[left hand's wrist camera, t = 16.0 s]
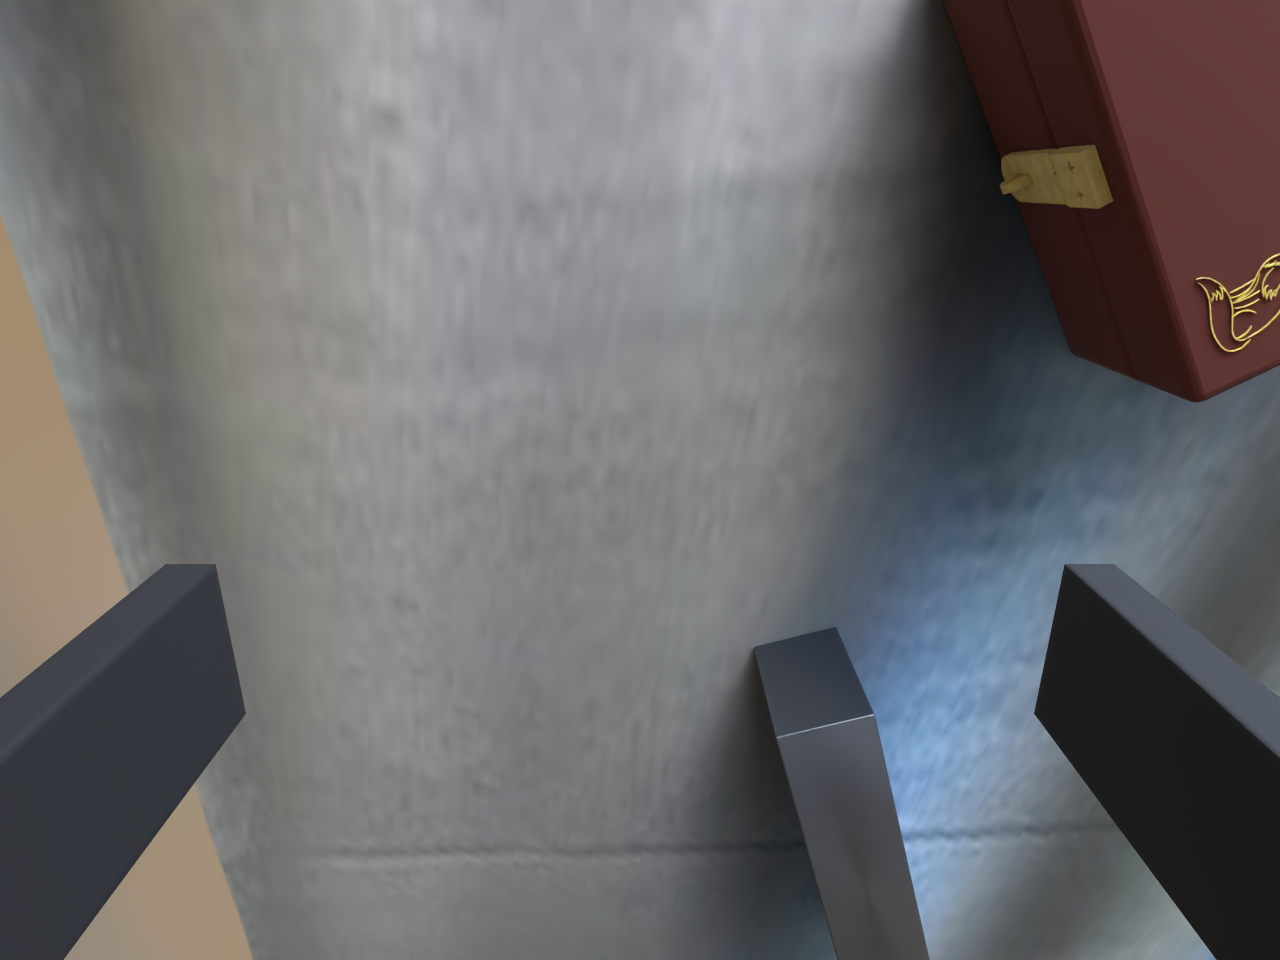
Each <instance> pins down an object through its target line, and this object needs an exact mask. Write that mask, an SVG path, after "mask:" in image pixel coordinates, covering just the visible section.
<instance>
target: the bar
mask: <svg viewBox="0 0 1280 960" xmlns="http://www.w3.org/2000/svg"><path fill="white" fill-rule="evenodd" d="M754 650H755V655H756V659H757V663H758V667H759V671H760V675H761V679H762V683H763V687H764V691H765V696H766V700H767V704H768V708H769V712H770V716H771V720H772V724H773V728H774V733H775V737H776V740H777V744H778V748H779V751H780V755H781V758H782V762H783V766H784V769H785V773H786V776H787V780H788V784H789V787H790V791H791V794H792V798H793V802H794V805H795V809H796V812H797V816H798V819H799V823H800V827H801V830H802V834H803V837H804V841H805V845H806V848H807V852H808V855H809V859H810V863H811V866H812V870H813V873H814V877H815V881H816V884H817V888H818V891H819V895H820V899H821V902H822V906H823V909H824V913H825V917H826V920H827V924H828V927H829V931H830V935H831V938H832V942H833V945H834V949H835V953H836V956H837V960H929V956H928V951H927V947H926V942H925V938H924V933H923V929H922V924H921V920H920V915H919V911H918V906H917V902H916V898H915V893H914V889H913V884H912V880H911V875H910V871H909V866H908V862H907V857H906V853H905V848H904V844H903V839H902V835H901V831H900V826H899V822H898V817H897V813H896V808H895V804H894V799H893V795H892V790H891V786H890V781H889V777H888V772H887V768H886V764H885V759H884V755H883V750H882V746H881V741H880V737H879V732H878V728H877V723H876V719H875V715H874V712H873V710H872V708H871V706H870V703H869V701H868V699H867V697H866V694H865V692H864V690H863V687H862V685H861V683H860V681H859V678H858V676H857V674H856V671H855V669H854V667H853V665H852V662H851V660H850V658H849V656H848V653H847V651H846V649H845V646H844V644H843V642H842V640H841V637H840V635H839V633H838V631H837V628H836V627H834V628H830V629H826V630H822V631H818V632H814V633H810V634H806V635H802V636H798V637H793V638H789V639H785V640H781V641H777V642H773V643H769V644H765V645H761V646H757V647H754Z"/></svg>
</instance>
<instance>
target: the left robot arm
mask: <svg viewBox="0 0 1280 960" xmlns="http://www.w3.org/2000/svg"><path fill="white" fill-rule="evenodd" d="M245 714H246V712H245V707H244V702H243V697H242V692H241V688H240V683H239V678H238V673H237V668H236V663H235V658H234V653H233V648H232V644H231V639H230V634H229V629H228V624H227V619H226V614H225V609H224V604H223V599H222V595H221V590H220V585H219V580H218V575H217V570H216V565H215V564H166V565H164V566H163V567H162V568H161V569H159V570H158V571H157V572H156V573H154V574H153V575H152V576H151V577H150V578H148V579H147V580H146V581H145V582H143V583H142V584H141V585H140V586H138V587H137V588H136V589H135V590H133V591H132V592H131V593H130V594H128V595H127V596H126V597H125V598H123V599H122V600H121V601H120V602H119V603H117V604H116V605H115V606H114V607H112V608H111V609H110V610H109V611H107V612H106V613H105V614H104V615H102V616H101V617H100V618H99V619H97V620H96V621H95V622H94V623H93V624H91V625H90V626H89V627H88V628H86V629H85V630H84V631H83V632H81V633H80V634H79V635H78V636H76V637H75V638H74V639H73V640H71V641H70V642H69V643H68V644H67V645H65V646H64V647H63V648H62V649H60V650H59V651H58V652H57V653H55V654H54V655H53V656H52V657H50V658H49V659H48V660H47V661H45V662H44V663H43V664H42V665H41V666H39V667H38V668H37V669H36V670H34V671H33V672H32V673H31V674H29V675H28V676H27V677H26V678H24V679H23V680H22V681H21V682H19V683H18V684H17V685H16V686H15V687H13V688H12V689H11V690H9V691H8V692H7V693H6V694H5V695H3V696H2V697H1V698H0V960H64V958H65V957H66V956H67V954H68V953H69V951H70V950H71V949H72V947H73V946H74V945H75V943H76V942H77V941H78V939H79V938H80V937H81V935H82V934H83V932H84V931H85V930H86V928H87V927H88V926H89V924H90V923H91V922H92V920H93V919H94V918H95V916H96V915H97V914H98V912H99V911H100V910H101V908H102V907H103V906H104V904H105V903H106V902H107V900H108V899H109V897H110V896H111V895H112V893H113V892H114V891H115V889H116V888H117V887H118V885H119V884H120V883H121V881H122V880H123V879H124V877H125V876H126V875H127V873H128V872H129V871H130V869H131V868H132V866H133V865H134V864H135V862H136V861H137V860H138V858H139V857H140V856H141V854H142V853H143V852H144V850H145V849H146V848H147V846H148V845H149V843H150V842H151V841H152V839H153V838H154V837H155V835H156V834H157V833H158V831H159V830H160V829H161V827H162V826H163V825H164V823H165V822H166V821H167V819H168V818H169V817H170V815H171V814H172V812H173V811H174V810H175V808H176V807H177V806H178V804H179V803H180V802H181V800H182V799H183V798H184V796H185V795H186V794H187V792H188V791H189V790H190V788H191V787H192V785H193V784H194V783H195V781H196V780H197V779H198V777H199V776H200V775H201V773H202V772H203V771H204V769H205V768H206V767H207V765H208V764H209V763H210V761H211V760H212V759H213V757H214V756H215V754H216V753H217V752H218V750H219V749H220V748H221V746H222V745H223V744H224V742H225V741H226V740H227V738H228V737H229V736H230V734H231V733H232V732H233V730H234V729H235V727H236V726H237V725H238V723H239V722H240V721H241V719H242V718H243V717H244V715H245ZM1034 714H1035V715H1036V717H1037V718H1038V719H1039V721H1040V722H1041V723H1042V725H1043V726H1044V727H1045V729H1046V730H1047V732H1048V733H1049V734H1050V736H1051V737H1052V738H1053V740H1054V741H1055V742H1056V744H1057V745H1058V746H1059V748H1060V749H1061V750H1062V752H1063V753H1064V754H1065V756H1066V757H1067V759H1068V760H1069V761H1070V763H1071V764H1072V765H1073V767H1074V768H1075V769H1076V771H1077V772H1078V773H1079V775H1080V776H1081V777H1082V779H1083V780H1084V781H1085V783H1086V784H1087V785H1088V787H1089V788H1090V790H1091V791H1092V792H1093V794H1094V795H1095V796H1096V798H1097V799H1098V800H1099V802H1100V803H1101V804H1102V806H1103V807H1104V808H1105V810H1106V811H1107V812H1108V814H1109V815H1110V817H1111V818H1112V819H1113V821H1114V822H1115V823H1116V825H1117V826H1118V827H1119V829H1120V830H1121V831H1122V833H1123V834H1124V835H1125V837H1126V838H1127V839H1128V841H1129V842H1130V844H1131V845H1132V846H1133V848H1134V849H1135V850H1136V852H1137V853H1138V854H1139V856H1140V857H1141V858H1142V860H1143V861H1144V862H1145V864H1146V865H1147V866H1148V868H1149V869H1150V871H1151V872H1152V873H1153V875H1154V876H1155V877H1156V879H1157V880H1158V881H1159V883H1160V884H1161V885H1162V887H1163V888H1164V889H1165V891H1166V892H1167V893H1168V895H1169V896H1170V897H1171V899H1172V900H1173V902H1174V903H1175V904H1176V906H1177V907H1178V908H1179V910H1180V911H1181V912H1182V914H1183V915H1184V916H1185V918H1186V919H1187V920H1188V922H1189V923H1190V924H1191V926H1192V927H1193V929H1194V930H1195V931H1196V933H1197V934H1198V935H1199V937H1200V938H1201V939H1202V941H1203V942H1204V943H1205V945H1206V946H1207V947H1208V949H1209V950H1210V951H1211V953H1212V954H1213V956H1214V957H1215V958H1216V960H1280V698H1279V697H1278V696H1277V695H1275V694H1274V693H1273V692H1272V691H1271V690H1269V689H1268V688H1267V687H1266V686H1264V685H1263V684H1262V683H1261V682H1259V681H1258V680H1257V679H1256V678H1254V677H1253V676H1252V675H1251V674H1249V673H1248V672H1247V671H1246V670H1244V669H1243V668H1242V667H1241V666H1240V665H1238V664H1237V663H1236V662H1235V661H1233V660H1232V659H1231V658H1230V657H1228V656H1227V655H1226V654H1225V653H1223V652H1222V651H1221V650H1220V649H1218V648H1217V647H1216V646H1215V645H1214V644H1212V643H1211V642H1210V641H1209V640H1207V639H1206V638H1205V637H1204V636H1202V635H1201V634H1200V633H1199V632H1197V631H1196V630H1195V629H1194V628H1192V627H1191V626H1190V625H1189V624H1187V623H1186V622H1185V621H1184V620H1183V619H1181V618H1180V617H1179V616H1178V615H1176V614H1175V613H1174V612H1173V611H1171V610H1170V609H1169V608H1168V607H1166V606H1165V605H1164V604H1163V603H1161V602H1160V601H1159V600H1158V599H1157V598H1155V597H1154V596H1153V595H1152V594H1150V593H1149V592H1148V591H1147V590H1145V589H1144V588H1143V587H1142V586H1140V585H1139V584H1138V583H1137V582H1135V581H1134V580H1133V579H1132V578H1130V577H1129V576H1128V575H1127V574H1126V573H1124V572H1123V571H1122V570H1121V569H1119V568H1118V567H1117V566H1116V565H1114V564H1065V565H1064V570H1063V575H1062V580H1061V585H1060V590H1059V595H1058V599H1057V604H1056V609H1055V614H1054V619H1053V624H1052V629H1051V634H1050V639H1049V644H1048V648H1047V653H1046V658H1045V663H1044V668H1043V673H1042V678H1041V683H1040V688H1039V692H1038V697H1037V702H1036V707H1035V712H1034Z"/></svg>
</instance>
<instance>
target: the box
mask: <svg viewBox="0 0 1280 960" xmlns="http://www.w3.org/2000/svg"><path fill="white" fill-rule="evenodd" d="M943 3H944V5H945V8H946V11H947V13H948V16H949V19H950V22H951V24H952V27H953V30H954V32H955V35H956V38H957V41H958V43H959V46H960V49H961V51H962V54H963V57H964V60H965V62H966V65H967V68H968V70H969V73H970V76H971V79H972V81H973V84H974V87H975V90H976V92H977V95H978V98H979V100H980V103H981V106H982V109H983V111H984V114H985V117H986V119H987V122H988V125H989V128H990V130H991V133H992V136H993V138H994V141H995V144H996V147H997V149H998V152H999V155H1000V157H1001V160H1002V161H1001V169H1002V174H1003V178H1004V180H1005V181H1003V182H1002V183H1001V184H1000V188H1001V190H1002V193H1003V194H1008V193H1012V195H1013V196H1014V197H1015V198H1016V201H1017V204H1018V206H1019V209H1020V212H1021V214H1022V217H1023V220H1024V223H1025V225H1026V228H1027V231H1028V234H1029V236H1030V239H1031V242H1032V244H1033V247H1034V250H1035V253H1036V255H1037V258H1038V261H1039V263H1040V266H1041V269H1042V272H1043V274H1044V277H1045V280H1046V282H1047V285H1048V288H1049V291H1050V293H1051V296H1052V299H1053V301H1054V304H1055V307H1056V310H1057V312H1058V315H1059V318H1060V320H1061V323H1062V326H1063V329H1064V331H1065V334H1066V337H1067V339H1068V342H1069V345H1070V348H1071V350H1072V353H1073V354H1074V355H1076V356H1078V357H1081V358H1083V359H1086V360H1088V361H1091V362H1093V363H1096V364H1098V365H1101V366H1103V367H1106V368H1108V369H1111V370H1113V371H1116V372H1118V373H1121V374H1123V375H1126V376H1128V377H1131V378H1133V379H1136V380H1138V381H1141V382H1143V383H1146V384H1148V385H1151V386H1153V387H1156V388H1158V389H1161V390H1163V391H1166V392H1168V393H1171V394H1173V395H1176V396H1178V397H1181V398H1183V399H1186V400H1188V401H1191V402H1202V401H1205V400H1207V399H1209V398H1211V397H1213V396H1215V395H1217V394H1220V393H1222V392H1224V391H1226V390H1228V389H1230V388H1232V387H1234V386H1236V385H1239V384H1241V383H1243V382H1245V381H1247V380H1249V379H1251V378H1253V377H1255V376H1258V375H1260V374H1262V373H1264V372H1266V371H1268V370H1270V369H1272V368H1275V367H1277V366H1279V365H1280V0H943Z"/></svg>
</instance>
